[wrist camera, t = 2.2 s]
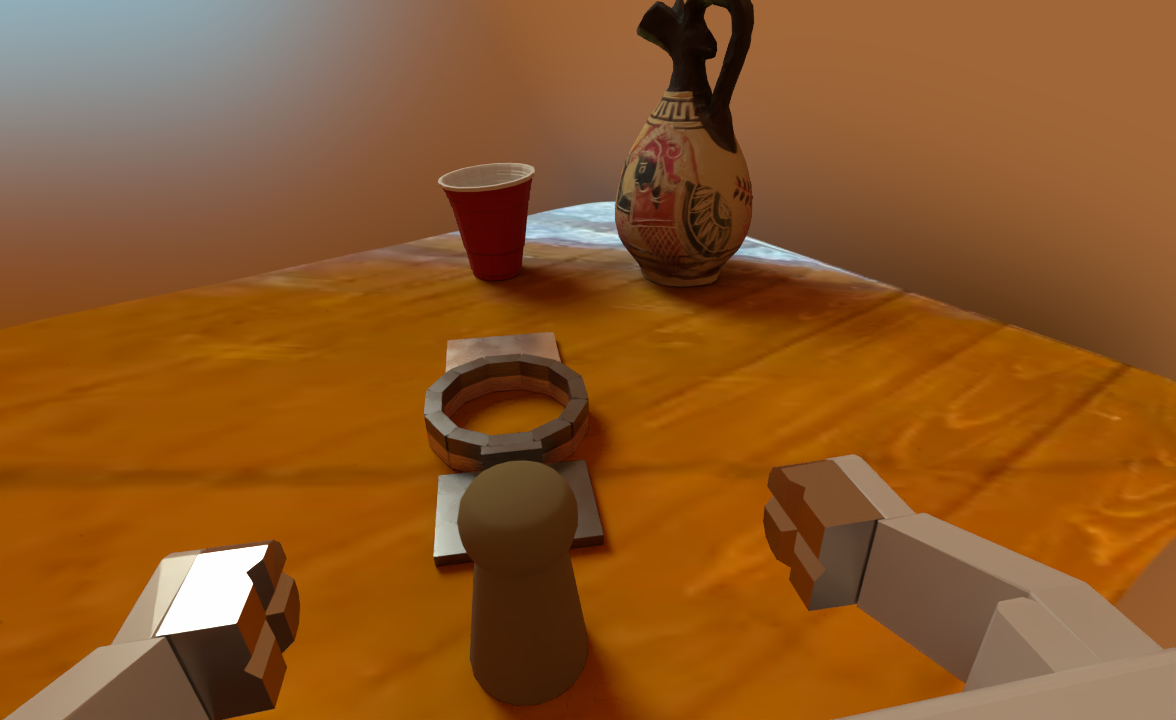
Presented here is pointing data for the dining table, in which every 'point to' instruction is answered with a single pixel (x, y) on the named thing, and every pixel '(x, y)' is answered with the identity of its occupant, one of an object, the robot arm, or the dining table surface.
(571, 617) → the cork
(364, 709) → the dining table surface
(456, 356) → the ring
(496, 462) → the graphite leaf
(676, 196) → the ceramic jug
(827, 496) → the robot arm
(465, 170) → the plastic cup
